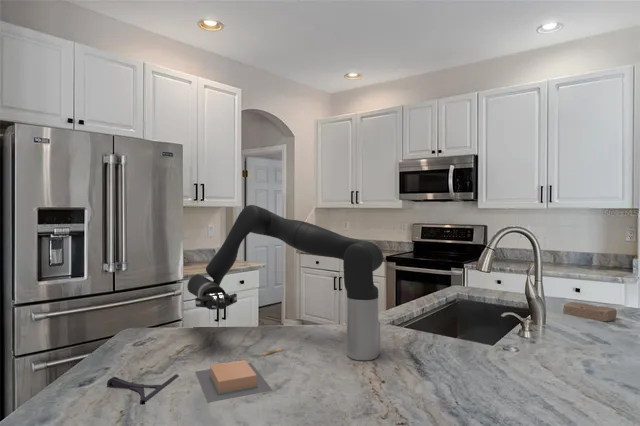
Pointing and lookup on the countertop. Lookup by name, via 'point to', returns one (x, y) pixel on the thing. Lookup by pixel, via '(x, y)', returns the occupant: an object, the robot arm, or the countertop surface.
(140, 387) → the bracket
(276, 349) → the turner
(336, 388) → the countertop surface
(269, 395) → the countertop surface
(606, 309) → the brick
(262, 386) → the mat
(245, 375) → the tile
